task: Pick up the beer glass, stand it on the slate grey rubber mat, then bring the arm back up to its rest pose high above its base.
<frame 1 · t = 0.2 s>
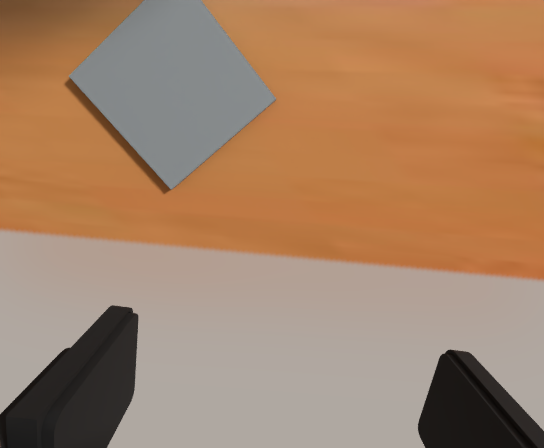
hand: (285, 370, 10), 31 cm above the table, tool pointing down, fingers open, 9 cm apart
grey mat: (176, 89, 37), on the table
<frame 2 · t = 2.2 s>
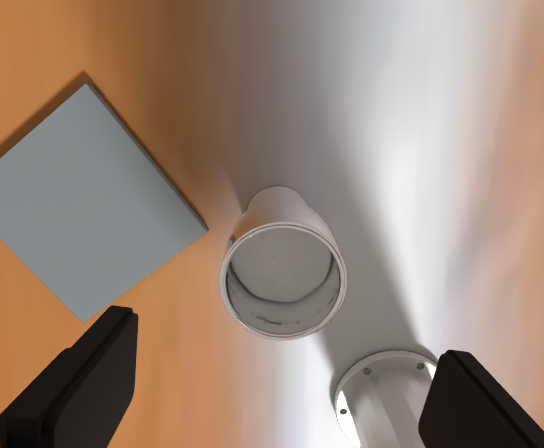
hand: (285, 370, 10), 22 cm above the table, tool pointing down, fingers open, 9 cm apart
beer glass: (277, 217, 31), on the table
grey mat: (89, 211, 31), on the table
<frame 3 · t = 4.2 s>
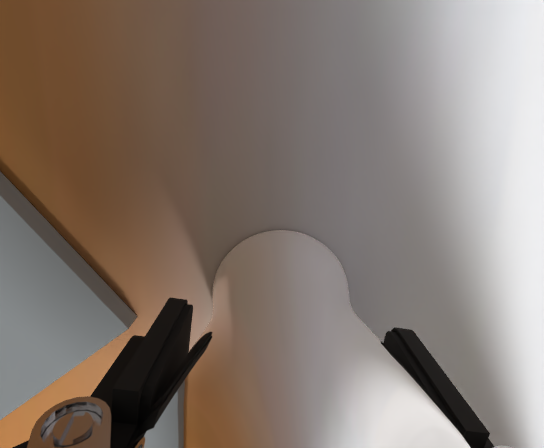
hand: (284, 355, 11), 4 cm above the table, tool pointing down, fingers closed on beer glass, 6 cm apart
beer glass: (280, 290, 15), on the table, touching gripper
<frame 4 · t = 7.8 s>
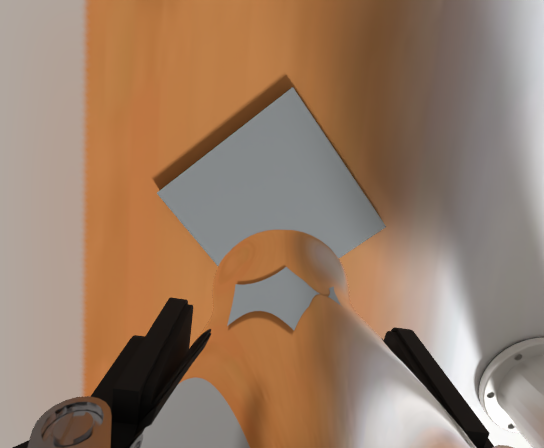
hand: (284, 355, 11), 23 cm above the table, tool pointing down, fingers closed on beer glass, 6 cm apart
beer glass: (280, 289, 15), point 18 cm above the table, touching gripper
grey mat: (273, 208, 33), on the table
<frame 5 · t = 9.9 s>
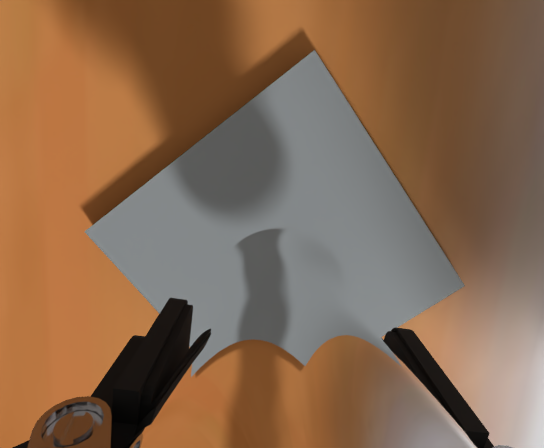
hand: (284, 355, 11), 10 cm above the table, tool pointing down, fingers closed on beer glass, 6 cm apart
beer glass: (280, 289, 15), point 5 cm above the table, touching gripper
grey mat: (278, 253, 20), on the table
when the fingers open (7 cm above the table, at t = 11.5 s): beer glass drops 1 cm, resting on grey mat.
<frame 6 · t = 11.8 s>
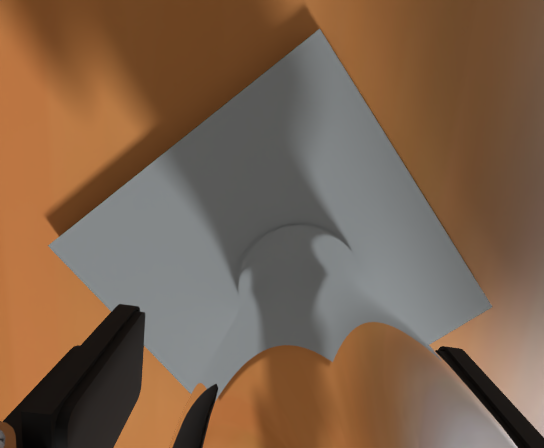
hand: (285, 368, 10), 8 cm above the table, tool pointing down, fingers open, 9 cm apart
beer glass: (298, 280, 17), point 1 cm above the table, touching grey mat
grey mat: (277, 269, 17), on the table
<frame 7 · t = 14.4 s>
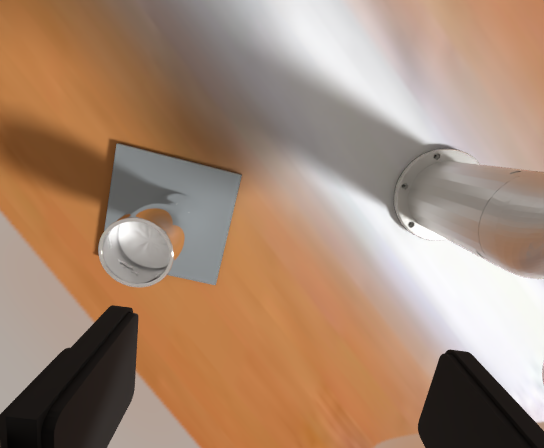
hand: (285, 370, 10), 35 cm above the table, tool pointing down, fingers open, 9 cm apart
beer glass: (176, 214, 44), point 1 cm above the table, touching grey mat
grey mat: (171, 217, 44), on the table
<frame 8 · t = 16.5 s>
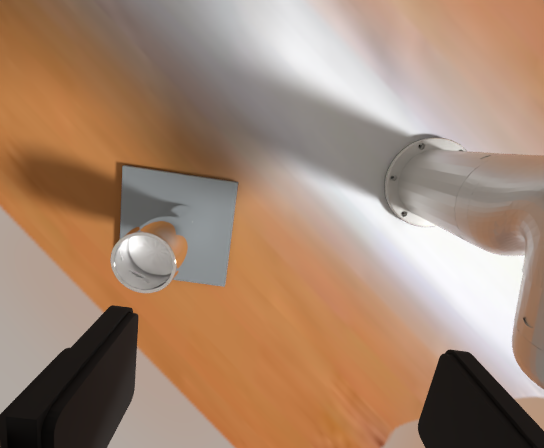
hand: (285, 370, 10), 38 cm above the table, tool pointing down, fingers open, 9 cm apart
beer glass: (182, 224, 47), point 1 cm above the table, touching grey mat
grey mat: (177, 227, 48), on the table
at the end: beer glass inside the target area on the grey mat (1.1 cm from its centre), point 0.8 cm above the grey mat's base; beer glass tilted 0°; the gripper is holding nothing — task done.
